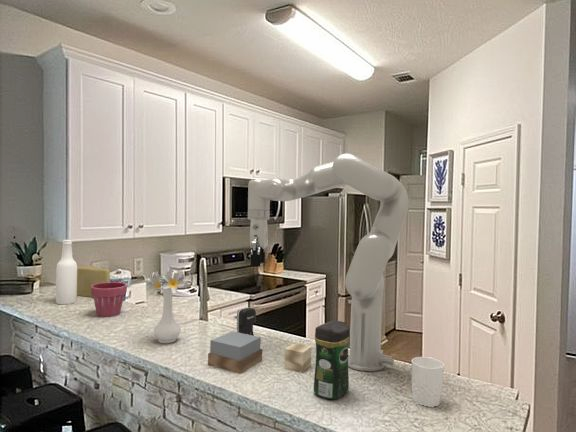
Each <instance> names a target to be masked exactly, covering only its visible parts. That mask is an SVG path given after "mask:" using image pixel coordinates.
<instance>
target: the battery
mask: <svg viewBox="0 0 576 432" xmlns="http://www.w3.org/2000/svg"><path fill="white" fill-rule="evenodd" d="M254 323H257V312H256V309H255V308H253V307H249V306H248V307H243V308H239V309H238V310H237V312H236V332H238V333H243V334H248V335H252V336H255V335H254Z"/></svg>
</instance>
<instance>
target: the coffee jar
mask: <svg viewBox="0 0 576 432" xmlns="http://www.w3.org/2000/svg"><path fill="white" fill-rule="evenodd" d="M314 333H315V335H314V341H315V365H314V367H315V368H314V377H313V392H314V394H315V395H316V396H318V397H320V398H322V399H324V400H325V399H326V400H327V399H328V400H337V399H340V398H341V397H343V396H344V395H345V394H346V393H347V392H348V391H349V389H350V387H349V386H350V385H349V384H350V383H349V381H350V380H349V379H350V378H349V366H348V355H349V347H350V326H349V325H348V324H347V322H345V321H340V320H337V319H333V320H330V321H328V322H325V323H323V324H320V325H318V326H316V327H315V332H314Z"/></svg>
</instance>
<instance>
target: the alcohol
mask: <svg viewBox="0 0 576 432" xmlns="http://www.w3.org/2000/svg"><path fill="white" fill-rule="evenodd" d="M77 267H78V264H77V262H76V260H75V259H74V258H73V240H72V239H63V240H62V249H61V258H60V260H59V261H58V262H57V264H56V267H55V272H56V273H55V303H56V304H57V305H60V306H66V305H73V304H75V303H76V302H77V301H78V295H77Z"/></svg>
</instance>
